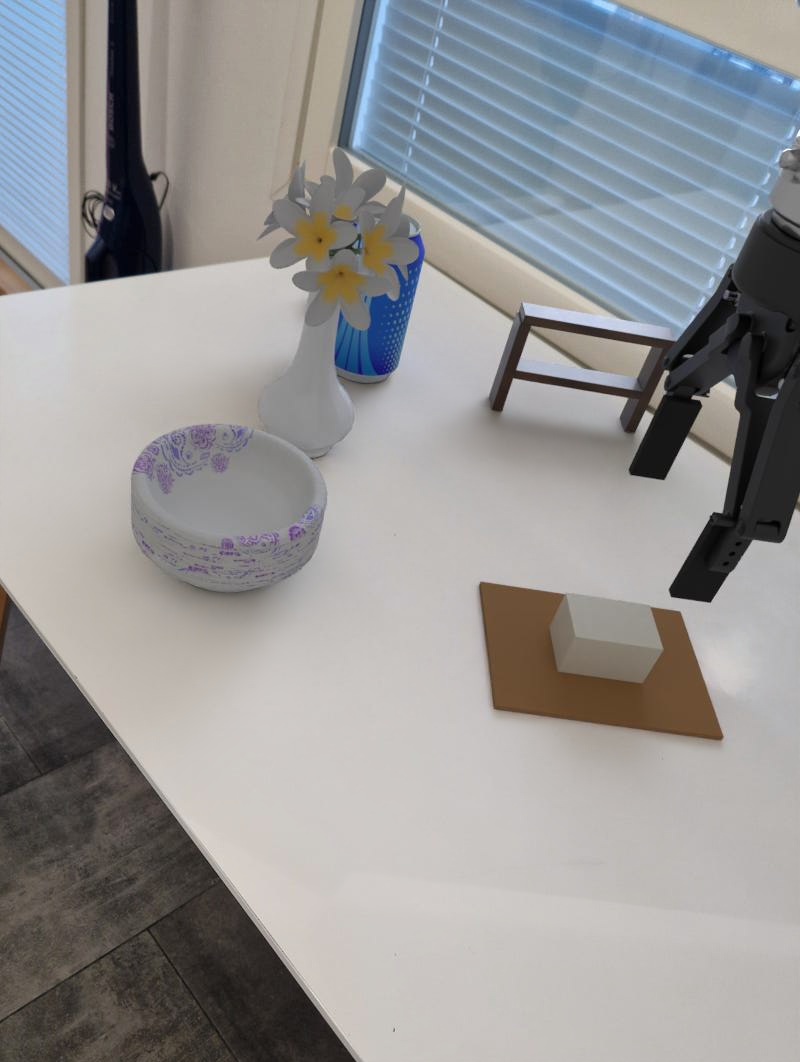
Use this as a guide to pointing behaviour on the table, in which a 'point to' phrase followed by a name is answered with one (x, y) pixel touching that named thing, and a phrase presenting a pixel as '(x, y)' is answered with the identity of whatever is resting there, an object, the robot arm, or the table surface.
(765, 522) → the robot arm
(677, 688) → the mat
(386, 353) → the beer can
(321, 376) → the flower vase
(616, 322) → the rack
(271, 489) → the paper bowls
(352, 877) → the table surface
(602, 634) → the white cardboard box
